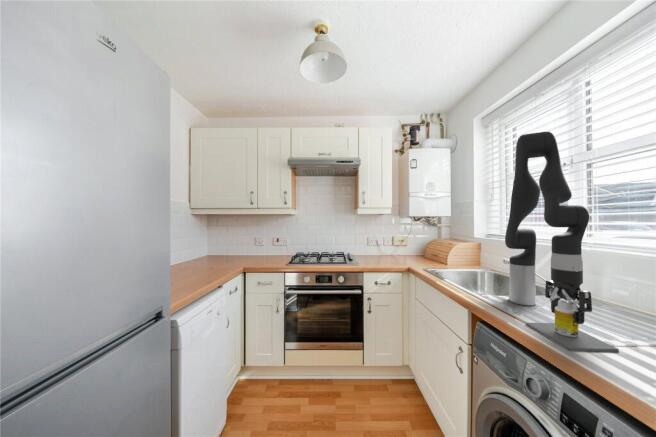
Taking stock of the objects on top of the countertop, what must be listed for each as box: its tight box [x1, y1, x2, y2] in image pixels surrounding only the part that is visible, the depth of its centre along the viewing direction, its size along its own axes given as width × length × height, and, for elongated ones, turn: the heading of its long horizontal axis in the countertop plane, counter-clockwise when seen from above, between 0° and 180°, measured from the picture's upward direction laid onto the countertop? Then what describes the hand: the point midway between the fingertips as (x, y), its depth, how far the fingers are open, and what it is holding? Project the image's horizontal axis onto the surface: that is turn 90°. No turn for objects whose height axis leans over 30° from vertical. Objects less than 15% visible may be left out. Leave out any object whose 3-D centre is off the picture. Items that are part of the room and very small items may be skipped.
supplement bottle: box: [554, 299, 579, 337], centre depth 82 cm, size 6×6×10 cm
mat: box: [525, 322, 620, 353], centre depth 82 cm, size 18×13×1 cm
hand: (566, 318), depth 82 cm, fingers open, 8 cm apart
